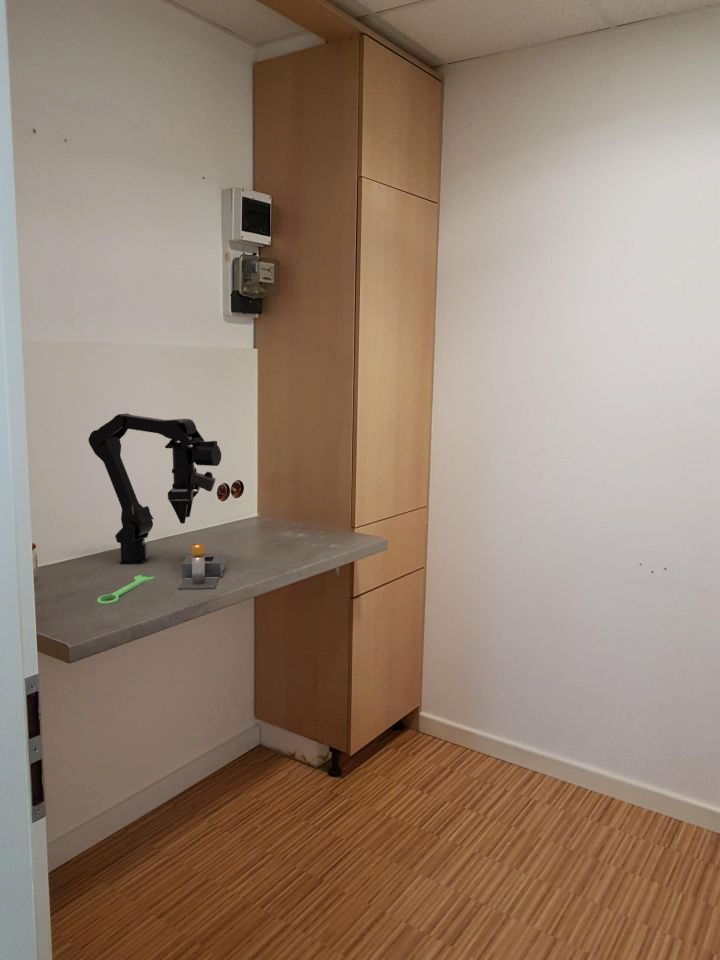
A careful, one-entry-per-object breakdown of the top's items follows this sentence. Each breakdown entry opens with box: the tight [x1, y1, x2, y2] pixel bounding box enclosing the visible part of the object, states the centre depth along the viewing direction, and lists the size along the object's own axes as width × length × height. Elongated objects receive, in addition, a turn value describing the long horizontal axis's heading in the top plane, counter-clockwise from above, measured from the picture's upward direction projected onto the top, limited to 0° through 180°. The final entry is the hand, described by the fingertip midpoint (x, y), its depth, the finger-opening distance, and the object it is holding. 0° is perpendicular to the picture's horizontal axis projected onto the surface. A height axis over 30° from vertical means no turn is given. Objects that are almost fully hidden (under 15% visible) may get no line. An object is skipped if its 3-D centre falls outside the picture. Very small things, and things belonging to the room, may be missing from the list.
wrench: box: [96, 574, 156, 605], centre depth 200 cm, size 25×2×5 cm
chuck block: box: [181, 553, 226, 579], centre depth 215 cm, size 10×10×4 cm
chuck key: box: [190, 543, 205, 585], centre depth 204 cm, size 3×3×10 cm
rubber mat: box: [178, 578, 219, 590], centre depth 204 cm, size 9×9×1 cm
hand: (185, 520), depth 222 cm, fingers open, 9 cm apart
